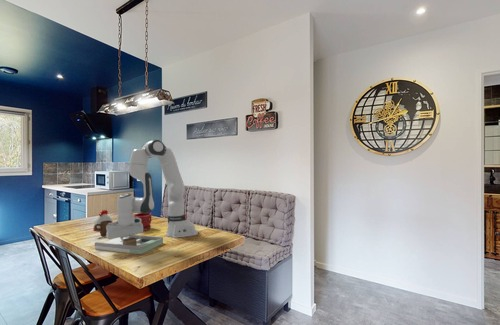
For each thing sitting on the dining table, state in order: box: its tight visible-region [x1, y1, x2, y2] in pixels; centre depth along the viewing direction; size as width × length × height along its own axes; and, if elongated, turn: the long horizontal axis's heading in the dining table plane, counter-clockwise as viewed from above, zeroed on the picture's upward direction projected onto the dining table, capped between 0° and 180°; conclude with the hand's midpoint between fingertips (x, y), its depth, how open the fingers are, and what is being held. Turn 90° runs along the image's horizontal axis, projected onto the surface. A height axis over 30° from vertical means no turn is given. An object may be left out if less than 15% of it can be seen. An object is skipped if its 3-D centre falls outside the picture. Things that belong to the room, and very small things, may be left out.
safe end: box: [129, 238, 164, 255], centre depth 151 cm, size 8×20×4 cm, turn 163°
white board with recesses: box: [94, 234, 164, 254], centre depth 155 cm, size 34×20×4 cm, turn 73°
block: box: [123, 237, 137, 246], centre depth 149 cm, size 6×6×4 cm
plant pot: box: [133, 212, 152, 231], centre depth 195 cm, size 13×13×12 cm
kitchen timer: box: [93, 209, 114, 232], centre depth 197 cm, size 14×14×15 cm
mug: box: [93, 220, 113, 237], centre depth 179 cm, size 12×8×9 cm, turn 146°
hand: (125, 243), depth 151 cm, fingers closed
